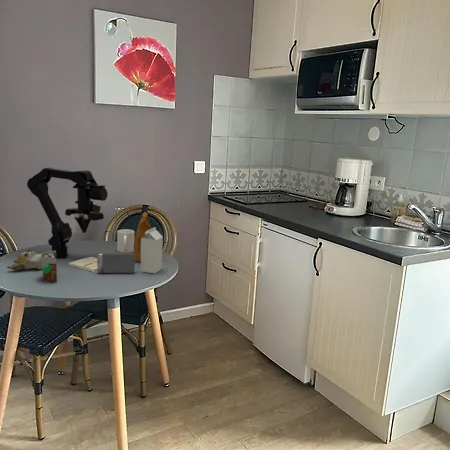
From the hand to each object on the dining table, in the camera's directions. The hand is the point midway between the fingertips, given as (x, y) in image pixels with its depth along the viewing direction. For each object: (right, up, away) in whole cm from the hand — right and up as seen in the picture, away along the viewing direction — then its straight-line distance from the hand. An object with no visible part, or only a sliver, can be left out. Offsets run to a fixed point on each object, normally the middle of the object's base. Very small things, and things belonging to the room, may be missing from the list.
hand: (84, 232), depth 208 cm
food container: (-7, -18, -24) cm, 31 cm away
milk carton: (+32, -17, -7) cm, 36 cm away
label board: (+5, -15, -4) cm, 16 cm away
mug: (+14, -10, +19) cm, 26 cm away
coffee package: (+25, -13, +10) cm, 30 cm away
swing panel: (+18, -17, -13) cm, 27 cm away
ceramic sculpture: (-19, -15, -14) cm, 28 cm away
